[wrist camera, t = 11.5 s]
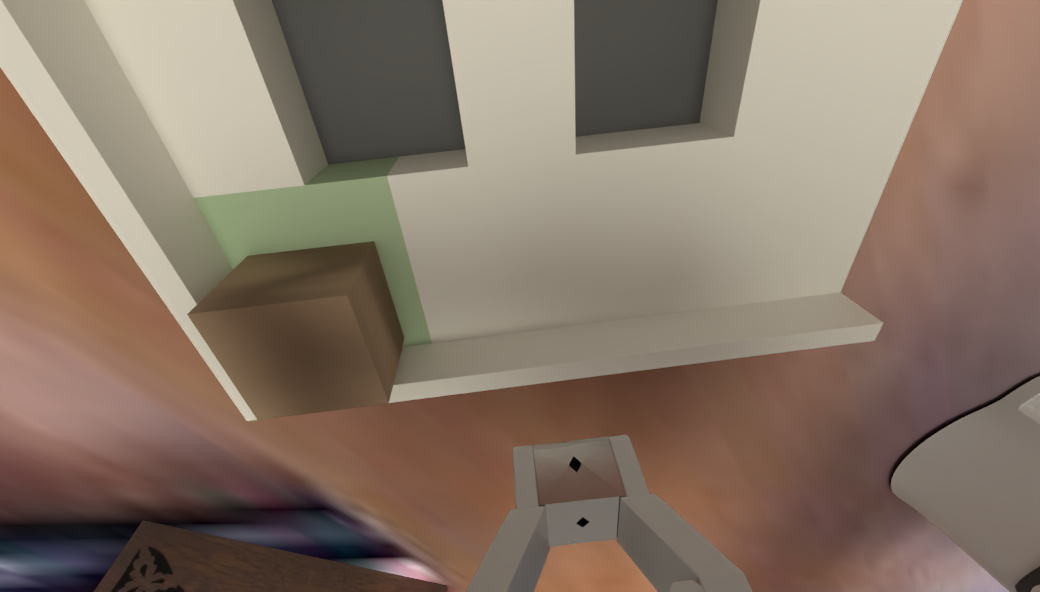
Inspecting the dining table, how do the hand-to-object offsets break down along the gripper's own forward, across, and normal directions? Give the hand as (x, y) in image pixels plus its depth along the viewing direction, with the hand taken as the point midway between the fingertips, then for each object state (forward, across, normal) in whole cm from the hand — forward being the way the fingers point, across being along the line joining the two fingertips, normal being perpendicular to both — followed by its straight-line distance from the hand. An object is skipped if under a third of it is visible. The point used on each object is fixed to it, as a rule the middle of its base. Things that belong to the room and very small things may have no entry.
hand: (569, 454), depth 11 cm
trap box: (+12, +1, +5) cm, 12 cm away
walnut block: (+8, -9, 0) cm, 12 cm away
